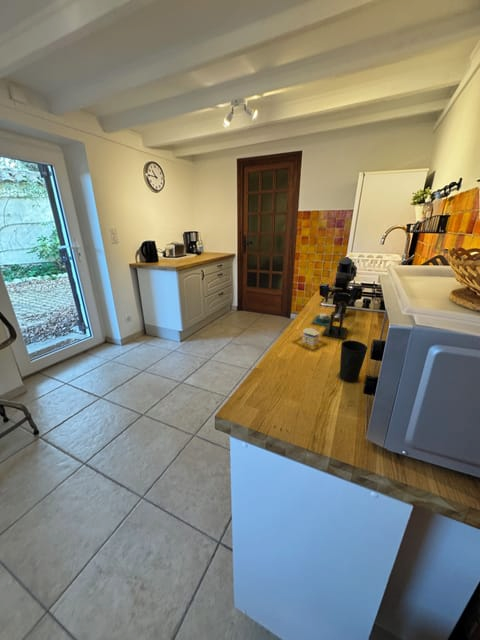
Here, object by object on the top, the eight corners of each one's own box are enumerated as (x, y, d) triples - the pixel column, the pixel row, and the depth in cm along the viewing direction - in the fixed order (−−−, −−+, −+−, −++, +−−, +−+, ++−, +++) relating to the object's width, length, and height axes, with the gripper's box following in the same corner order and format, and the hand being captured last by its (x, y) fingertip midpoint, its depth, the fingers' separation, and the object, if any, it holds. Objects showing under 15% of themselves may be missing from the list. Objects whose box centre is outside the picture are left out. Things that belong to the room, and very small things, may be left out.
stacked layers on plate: (325, 344, 108) (327, 332, 106) (312, 350, 102) (314, 338, 100) (306, 336, 115) (307, 325, 113) (293, 342, 110) (294, 330, 108)
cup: (356, 371, 88) (362, 340, 84) (364, 384, 81) (371, 352, 77) (334, 370, 89) (338, 339, 85) (339, 383, 82) (345, 351, 78)
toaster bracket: (327, 327, 124) (330, 308, 121) (347, 330, 120) (350, 311, 117) (322, 336, 114) (324, 316, 111) (343, 340, 110) (346, 320, 107)
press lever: (338, 304, 123) (339, 299, 121) (345, 305, 122) (346, 300, 120) (332, 321, 115) (333, 316, 113) (340, 322, 114) (340, 317, 112)
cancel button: (320, 316, 131) (320, 313, 130) (327, 317, 130) (327, 314, 129) (318, 318, 128) (319, 315, 128) (326, 319, 127) (326, 316, 126)
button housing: (316, 318, 136) (317, 312, 135) (332, 320, 132) (333, 315, 131) (312, 324, 128) (312, 319, 126) (328, 327, 124) (329, 321, 123)
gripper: (322, 267, 122) (315, 286, 113) (365, 268, 114) (361, 290, 104) (323, 285, 129) (316, 305, 120) (363, 288, 121) (359, 310, 112)
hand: (337, 302), depth 114 cm, fingers open, 9 cm apart
